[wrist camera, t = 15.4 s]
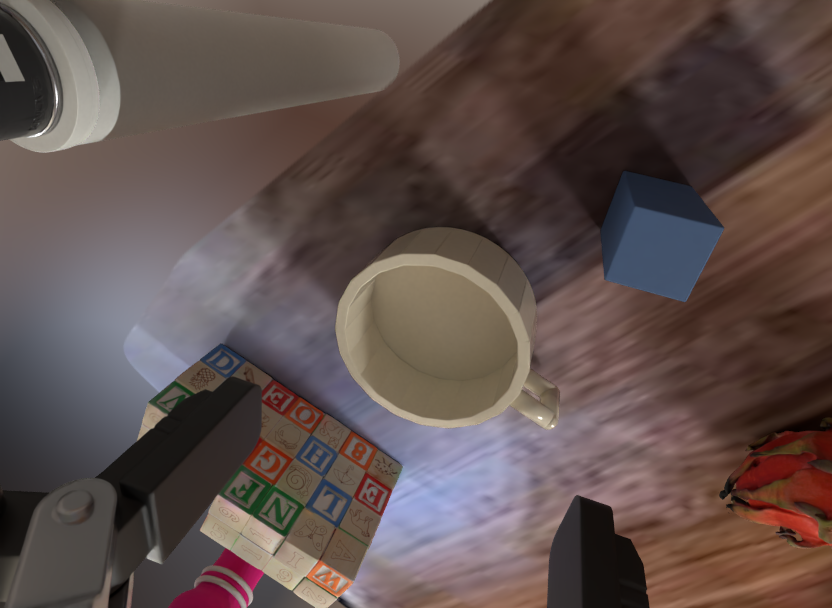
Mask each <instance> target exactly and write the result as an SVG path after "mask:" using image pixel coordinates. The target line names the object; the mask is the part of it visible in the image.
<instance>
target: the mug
mask: <svg viewBox="0 0 832 608" xmlns="http://www.w3.org/2000/svg"><path fill="white" fill-rule="evenodd" d="M536 325H537V308H536V301H535V297H534V293H533V290H532V288H531V285H530V283H529V281H528V279H527V277H526V275H525V274H524V272H523V270H522V269H521V268H520V267H519V265H518V264H517V263H516V261H515V260H514V259H513V258H512V257H511V256H510V255H509V254H508V253H507V252H505V251H504V250H503V249H502V248H500V247H499V246H498V245H496V244H495V243H493V242H491V241H490V240H488V239H486V238H484V237H482V236H480V235H477V234H475V233H472V232H469V231H466V230H462V229H456V228H450V227H432V228H424V229H420V230H416V231H413V232H410V233H408V234H405V235H403V236H401V237H399V238H398V239H396V240H395V241H393V242H392V243H391V244H390V245H388V246H387V247H386V248H385V249H384V250H382V251H381V252H380V253H379V254H378V255H377V256H375V257H374V258H373V259H372V260H371V261H370V262H369V263H368V264H367V265H366V266H365V267H364V268H363V269H362V270H361V271H360V272H359V273H358V274H357V275H356V276H355V277H354V278H353V279H352V280H351V281H350V283H349V285H348V286H347V288H346V290H345V292H344V294H343V295H342V297H341V299H340V301H339V303H338V310H337V317H336V324H335V332H336V337H337V342H338V347H339V352H340V355H341V357H342V359H343V361H344V363H345V365H346V366H347V368H348V370H349V372H350V374H351V376H352V378H353V379H354V380H355V381H356V382H357V383H358V384H359V385H360V387H361V388H362V389H363V390H364V391H365V392H366V393H367V394H368V395H369V396H370V398H372V400H374V401H375V402H377V403H378V404H380V405H381V406H383V407H384V408H386V409H387V410H389V411H390V412H392V413H393V414H395V415H397V416H399V417H402V418H404V419H407V420H410V421H412V422H415V423H417V424H420V425H425V426H433V427H441V428H448V429H449V428H457V427H464V426H471V425H476V424H477V425H478V424H480V423H482V422H484V421H486V420H488V419H490V418H492V417H495V416H497V415H499V414H500V413H502V412H503V411H504V410H505V409H506V408H507V407H508V406H509V405H510V406H511V407H513V408H514V409H516V410H517V411H518V412H520V413H521V414H523V415H524V416H526V417H527V418H529V419H530V420H532V421H533V422H535V423H536V424H537V425H539V426H540V427H542V428H544V429H547V430H550V429H553V428H554V427H556V425H557V423H558V415H559V401H560V391H559V389H558V387H557V386H555V385H554V384H552V383H551V382H549V381H548V380H547V379H545V378H544V377H542V376H541V375H539V374H538V373H536V372H535V371H533V370H532V369H530V366H531V360H532V354H533V348H534V343H535V337H536ZM523 386H524V387H525V388H527V389H528V390H530V391H531V392H533V393H534V394H535V395H537V396H538V397H540V401H538V400H536V399H535V398H534V397H532V396H531V395H529V394H528V393H526V392H525V391H523V390H522V388H523Z"/></svg>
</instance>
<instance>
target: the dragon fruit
mask: <svg viewBox="0 0 832 608" xmlns="http://www.w3.org/2000/svg"><path fill="white" fill-rule="evenodd" d="M820 427H821V428H823V429H825V430H826V431H802V432H793V431H785V432H782V433H779V434H777V433H776V432H773V433H770V434H769V435H767V436H766V437H763V438H761V439H759V440H758V441H756V442H755V443H753V444H751V445H748V448H747V449H746V450H745V451H749V450H754V451H752V452H751V453H750V454H749V455H748V456H747V458H746V459H745V460H744V462H743V463H742V464H741V466H740V467H739V468H738V469H737V470H735V471H734V472H733V473H732V474H731V475H730V476H729V478H728V479H727V482H726V484H725V487H724V489H725V490H723V491H721V492H720V494H719V496H720V498H721V499H723V500H724V498H725V497H727V495H728V494H729V493H730V492H731V495H732V496H731V502H732V504H728V505H726V506H727V507H728V508H730V509H731V510H732V511H734V512H735V513H736V514H738V515H739V516H740V517H741V518H743V519H746V520H748V521H751V522H754V523H761V524H768V525H772V526H780V532H776V534H778V535H780V536H779V537H780V538H782V539H787V542H788V543H789V544H790V545H791V546H793V547H796V548H803V549H804V548H816V547H820V546H822V545H830V546H831V548H832V418H824V419H822V422H821V424H820ZM735 483H736V489H733V487H734V485H735ZM732 489H733V490H732ZM739 497H740V498H739ZM741 498H743V499H746V500H748V502H746V501H744V500H742V499H741ZM727 507H726V508H727ZM729 511H730V510H729ZM728 513H729V512H728ZM729 514H730V513H729ZM791 529H793V530H795V531H797V532H798V533H799V534H800V535H801V537H802V539H803V540H802V541H797V540H796V538H795V537H793V536H791V535H796V533H795V532H793V531H792V530H791Z"/></svg>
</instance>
